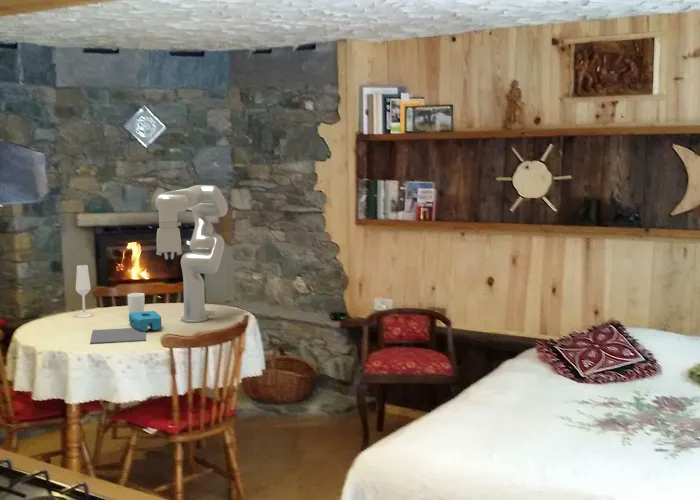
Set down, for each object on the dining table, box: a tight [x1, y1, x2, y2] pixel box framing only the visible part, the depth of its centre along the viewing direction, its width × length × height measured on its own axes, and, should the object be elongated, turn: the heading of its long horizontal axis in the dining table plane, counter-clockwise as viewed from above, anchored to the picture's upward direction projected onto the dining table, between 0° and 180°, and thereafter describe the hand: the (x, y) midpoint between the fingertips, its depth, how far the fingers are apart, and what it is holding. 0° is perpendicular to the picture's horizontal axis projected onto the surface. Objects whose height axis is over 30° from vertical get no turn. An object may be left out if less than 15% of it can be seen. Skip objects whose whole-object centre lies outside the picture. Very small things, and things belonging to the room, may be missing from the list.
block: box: [128, 310, 162, 332], centre depth 339 cm, size 12×5×20 cm
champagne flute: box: [75, 264, 92, 318], centre depth 360 cm, size 7×7×24 cm
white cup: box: [127, 292, 146, 314], centre depth 363 cm, size 8×8×10 cm
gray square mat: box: [89, 327, 147, 345], centre depth 324 cm, size 22×22×1 cm
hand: (169, 267), depth 326 cm, fingers closed
